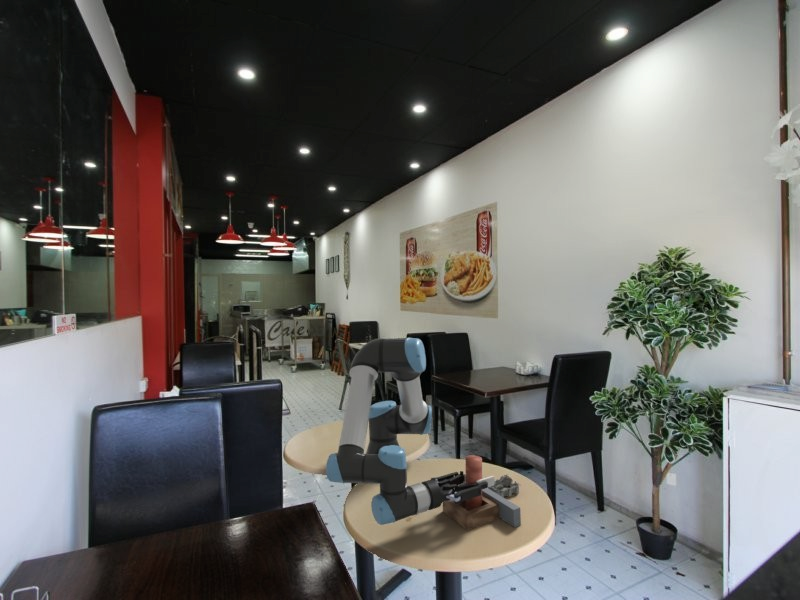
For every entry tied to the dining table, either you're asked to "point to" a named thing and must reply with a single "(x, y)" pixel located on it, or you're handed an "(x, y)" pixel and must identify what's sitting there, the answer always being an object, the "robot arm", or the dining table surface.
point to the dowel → (473, 479)
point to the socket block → (472, 513)
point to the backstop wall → (504, 507)
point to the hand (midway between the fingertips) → (487, 477)
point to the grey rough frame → (507, 482)
